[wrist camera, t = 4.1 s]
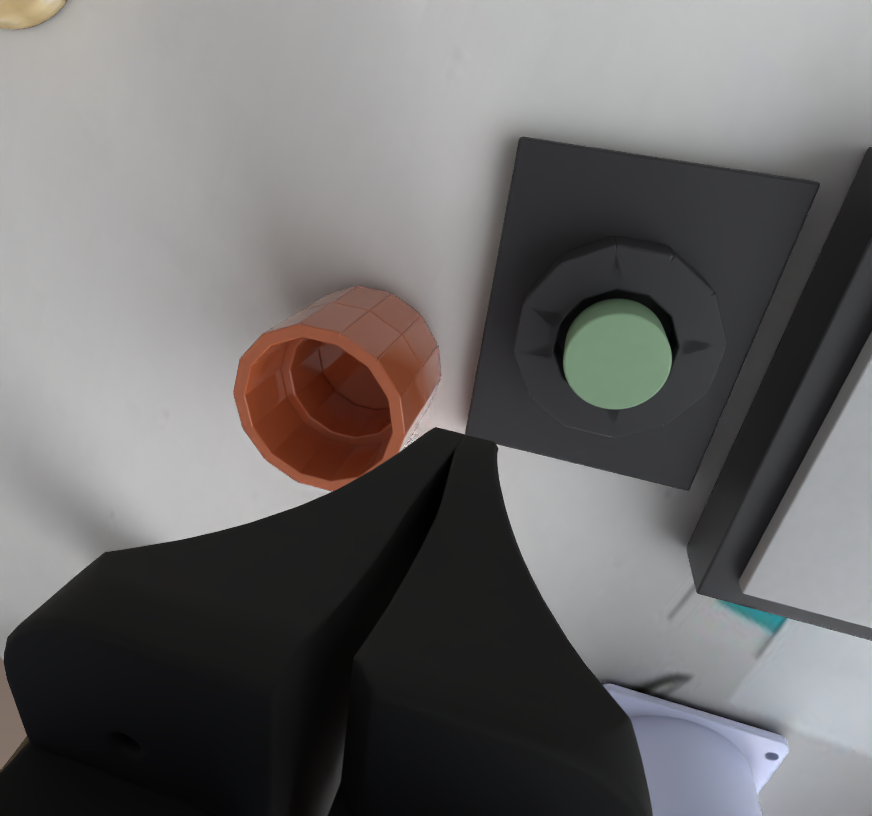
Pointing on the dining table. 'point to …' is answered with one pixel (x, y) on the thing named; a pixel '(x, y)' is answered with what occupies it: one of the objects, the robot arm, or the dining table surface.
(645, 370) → the tare button
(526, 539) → the dining table surface
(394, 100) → the dining table surface
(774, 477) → the scale
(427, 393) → the terracotta flower pot
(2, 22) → the hand bell
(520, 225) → the pad
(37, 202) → the dining table surface
